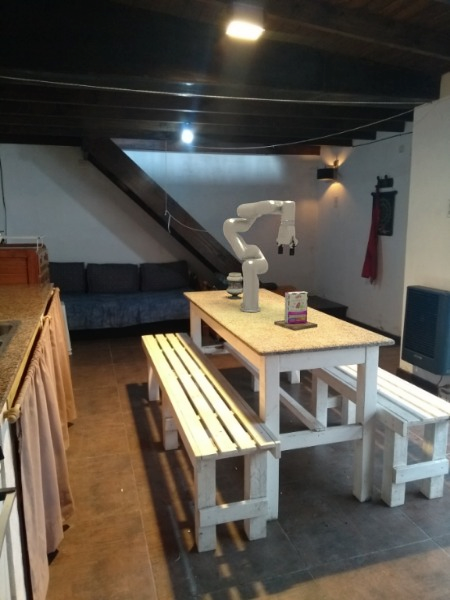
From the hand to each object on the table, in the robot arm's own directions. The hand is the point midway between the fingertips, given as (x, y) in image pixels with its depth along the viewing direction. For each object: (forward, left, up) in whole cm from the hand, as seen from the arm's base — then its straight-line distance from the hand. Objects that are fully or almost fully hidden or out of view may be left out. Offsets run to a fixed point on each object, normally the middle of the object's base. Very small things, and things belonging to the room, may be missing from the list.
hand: (286, 254), depth 247 cm
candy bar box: (+18, -8, -35) cm, 40 cm away
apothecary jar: (-65, +11, -36) cm, 75 cm away
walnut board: (+19, -8, -36) cm, 41 cm away
